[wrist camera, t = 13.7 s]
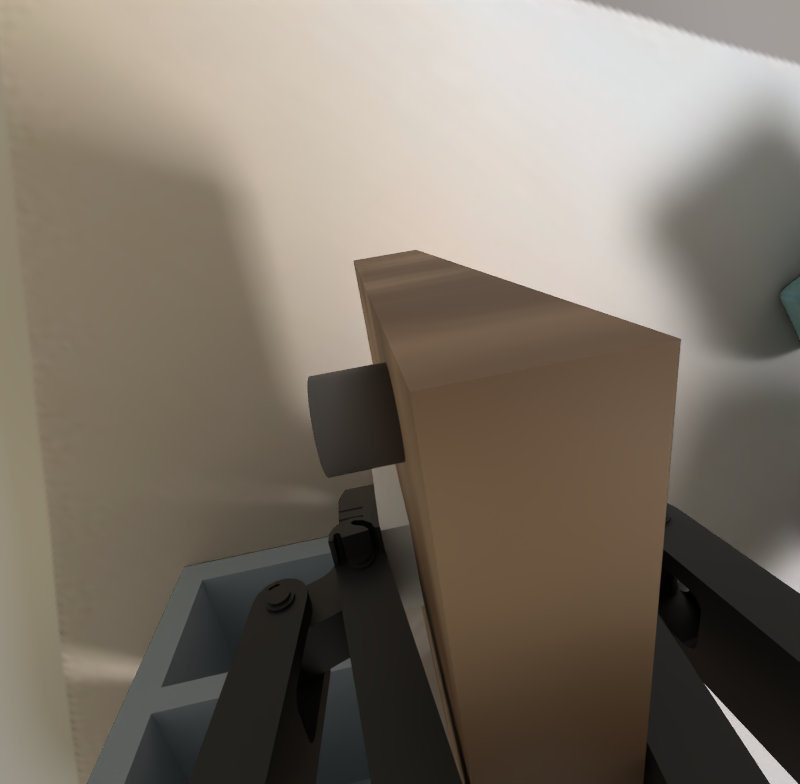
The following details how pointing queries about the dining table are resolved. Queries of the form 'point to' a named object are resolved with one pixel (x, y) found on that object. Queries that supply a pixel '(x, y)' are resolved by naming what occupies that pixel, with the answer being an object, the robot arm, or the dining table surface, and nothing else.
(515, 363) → the brown panel with tube
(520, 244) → the dining table surface
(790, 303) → the flower pot
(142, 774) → the cabinet
